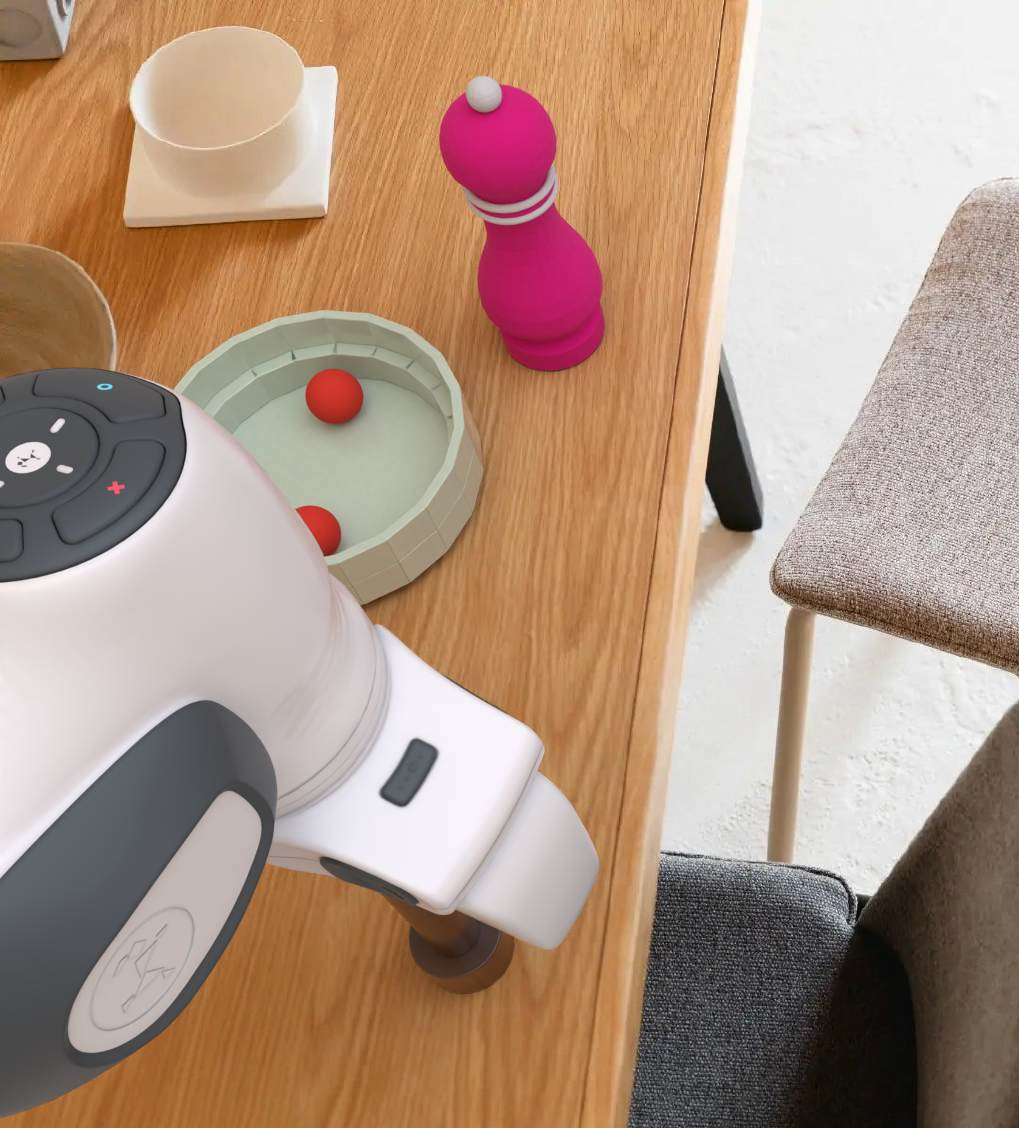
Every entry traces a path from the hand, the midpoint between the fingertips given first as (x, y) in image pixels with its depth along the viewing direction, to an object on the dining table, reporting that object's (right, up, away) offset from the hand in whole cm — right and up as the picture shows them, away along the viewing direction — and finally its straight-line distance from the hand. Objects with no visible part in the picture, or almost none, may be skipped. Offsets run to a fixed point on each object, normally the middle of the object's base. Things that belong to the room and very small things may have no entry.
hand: (389, 849), depth 62 cm
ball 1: (-11, +21, +26) cm, 35 cm away
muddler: (0, -7, +12) cm, 14 cm away
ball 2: (-11, +13, +21) cm, 27 cm away
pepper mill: (+1, +26, +31) cm, 41 cm away
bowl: (-11, +16, +26) cm, 32 cm away
